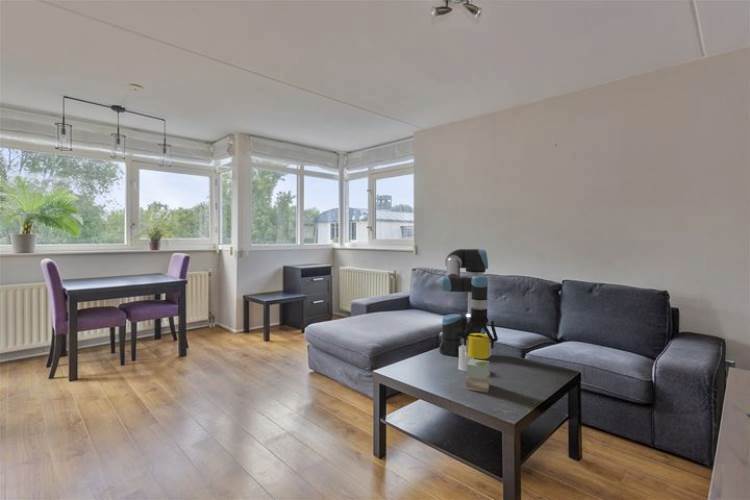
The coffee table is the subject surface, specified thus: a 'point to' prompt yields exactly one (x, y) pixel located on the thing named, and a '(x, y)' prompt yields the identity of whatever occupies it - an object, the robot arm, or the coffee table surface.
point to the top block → (478, 369)
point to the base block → (478, 384)
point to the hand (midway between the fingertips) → (478, 353)
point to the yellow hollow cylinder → (478, 346)
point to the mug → (463, 358)
